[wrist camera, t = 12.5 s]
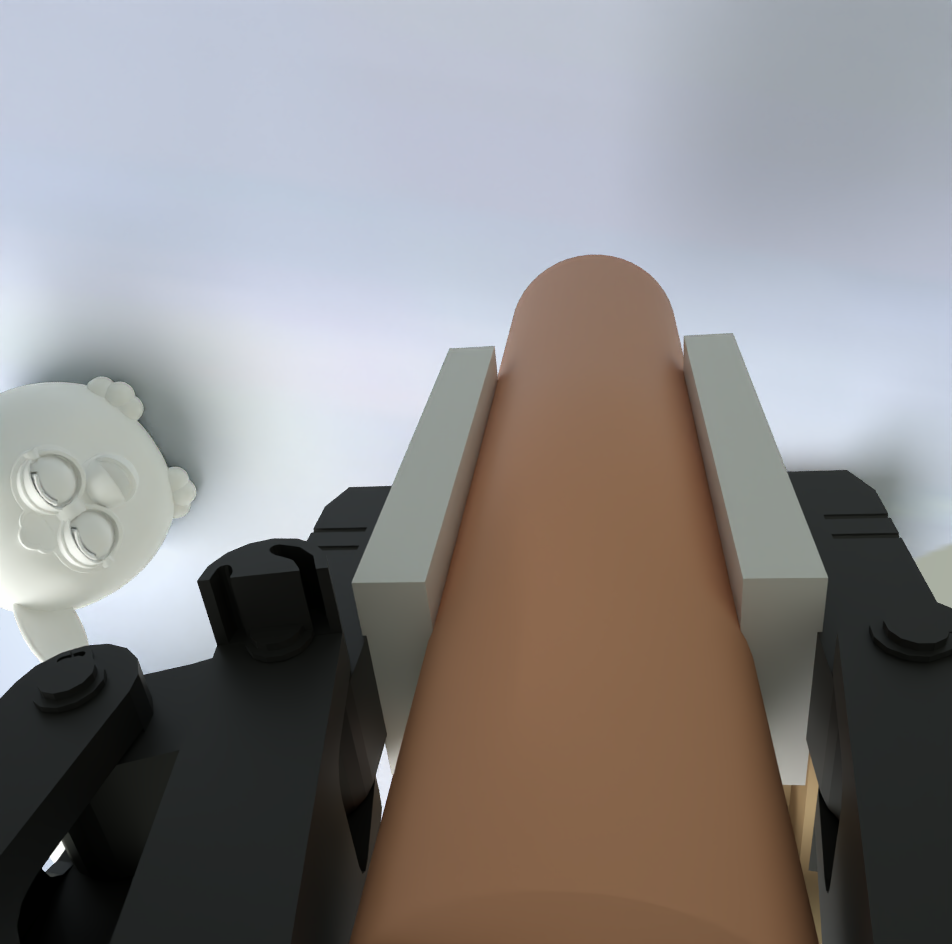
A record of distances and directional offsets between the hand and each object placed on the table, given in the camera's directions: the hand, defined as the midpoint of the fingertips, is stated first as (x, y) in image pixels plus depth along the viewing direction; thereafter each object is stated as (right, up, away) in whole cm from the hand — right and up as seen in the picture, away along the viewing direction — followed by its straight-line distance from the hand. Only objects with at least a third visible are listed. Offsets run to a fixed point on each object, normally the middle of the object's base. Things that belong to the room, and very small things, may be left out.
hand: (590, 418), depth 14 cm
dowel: (+1, +2, +3) cm, 4 cm away
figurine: (-14, -1, +14) cm, 20 cm away
